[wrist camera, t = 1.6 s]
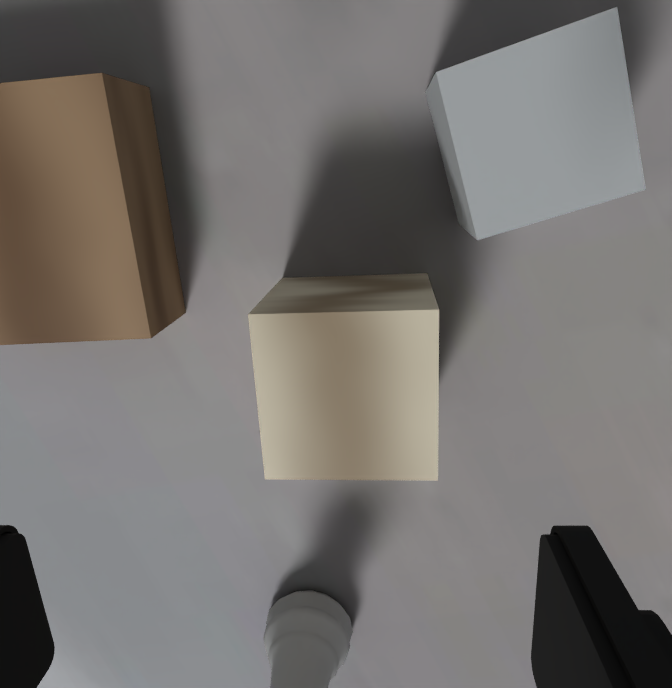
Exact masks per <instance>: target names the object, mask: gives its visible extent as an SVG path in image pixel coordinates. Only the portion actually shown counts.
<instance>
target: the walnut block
mask: <svg viewBox="0 0 672 688" xmlns="http://www.w3.org/2000/svg"><path fill="white" fill-rule="evenodd" d="M185 313H186V311H185V305H184V299H183V293H182V287H181V280H180V274H179V268H178V262H177V256H176V250H175V243H174V237H173V231H172V225H171V219H170V213H169V206H168V200H167V194H166V188H165V182H164V176H163V170H162V163H161V157H160V151H159V145H158V139H157V133H156V126H155V120H154V114H153V108H152V102H151V96H150V89H149V87H146V86H143V85H140V84H137V83H133V82H130V81H127V80H124V79H120V78H117V77H114V76H111V75H107V74H104V73H95V74H85V75H75V76H65V77H55V78H46V79H36V80H26V81H16V82H6V83H0V345H10V344H33V343H55V342H78V341H101V340H123V339H146V338H152V337H153V336H155V335H156V334H157V333H159V332H160V331H162V330H163V329H164V328H166V327H167V326H168V325H170V324H171V323H172V322H174V321H175V320H177V319H178V318H179V317H181V316H182V315H183V314H185Z"/></svg>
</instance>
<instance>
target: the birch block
mask: <svg viewBox="0 0 672 688" xmlns="http://www.w3.org/2000/svg"><path fill="white" fill-rule="evenodd" d="M248 319H249V328H250V338H251V348H252V358H253V367H254V377H255V387H256V396H257V406H258V416H259V426H260V435H261V445H262V455H263V465H264V474H265V479H284V480H434V481H438V405H439V308H438V305H437V302H436V299H435V296H434V292H433V289H432V286H431V283H430V280H429V277H428V274H427V273H418V274H387V275H356V276H325V277H294V278H282V279H281V280H280V281H279V282H278V283H277V284H276V285H275V286H274V287H273V288H272V290H271V291H270V292H269V293H268V294H267V295H266V296H265V297H264V298H263V299H262V300H261V301H260V302H259V303H258V304H257V305H256V307H255V308H254V309H253V310H252V311H251V312H250V313H249V314H248Z"/></svg>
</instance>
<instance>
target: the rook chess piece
mask: <svg viewBox="0 0 672 688" xmlns="http://www.w3.org/2000/svg"><path fill="white" fill-rule="evenodd" d="M266 624H267V626H266V630H265V634H264V645H265V649H266V653H267V656H268V660H269V664H270V667H271V684H270V688H328V685H329V682H330V680H331V679H332V678H333V677H334V676H335V675H336V673H337V670H338V669H339V668H340V667H341V666H342V665H343V664H344V662H345V660H346V657H347V654H348V651H349V648H350V643H349V642H350V639H351V635H352V632H353V631H352V626H351V620H350V617H349V616H348V615H347V613H346V612H345V610H344V609H343V608H342V606H341V605H340V604H339V603H338V602H337V601H335V600H334V599H332V598H331V597H329V596H328V595H326V594H324V593H320V592H316V591H313V590H306V591H296V592H294V593H291V594H289V595H287V596H285V597H283V598H280V599H279V600H278V601H277V602H276V603H275V604H274V605H273V606H272V607H271V608H270V610H269V613H268V617H267V621H266Z"/></svg>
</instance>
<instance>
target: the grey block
mask: <svg viewBox="0 0 672 688" xmlns="http://www.w3.org/2000/svg"><path fill="white" fill-rule="evenodd" d="M425 93H426V97H427V101H428V105H429V109H430V113H431V117H432V121H433V125H434V129H435V133H436V137H437V141H438V145H439V148H440V152H441V156H442V160H443V164H444V168H445V172H446V176H447V180H448V184H449V188H450V192H451V196H452V200H453V204H454V208H455V212H456V215H457V219H458V223H459V224H460V225H461V226H462V227H463V228H464V229H465V230H466V231H467V232H469V233H470V234H471V235H472V236H473V237H474V238H475V239H476V240H480V239H483V238H487V237H490V236H493V235H497V234H500V233H503V232H507V231H510V230H513V229H517V228H520V227H523V226H527V225H530V224H533V223H536V222H540V221H543V220H546V219H550V218H553V217H556V216H560V215H563V214H566V213H570V212H573V211H576V210H580V209H583V208H586V207H590V206H593V205H596V204H600V203H603V202H606V201H610V200H613V199H616V198H620V197H623V196H626V195H630V194H633V193H636V192H640V191H643V190H646V188H645V181H644V175H643V168H642V162H641V156H640V149H639V143H638V136H637V130H636V124H635V117H634V111H633V104H632V98H631V92H630V85H629V79H628V72H627V66H626V60H625V53H624V47H623V40H622V34H621V28H620V21H619V15H618V8H617V7H615V8H612V9H610V10H607V11H604V12H601V13H598V14H596V15H593V16H590V17H587V18H585V19H582V20H579V21H576V22H573V23H571V24H568V25H565V26H562V27H560V28H557V29H554V30H551V31H549V32H546V33H543V34H540V35H537V36H535V37H532V38H529V39H526V40H524V41H521V42H518V43H515V44H513V45H510V46H507V47H504V48H501V49H499V50H496V51H493V52H490V53H488V54H485V55H482V56H479V57H476V58H474V59H471V60H468V61H465V62H463V63H460V64H457V65H454V66H452V67H449V68H446V69H443V70H440V71H438V72H436V73H435V75H434V77H433V79H432V81H431V83H430V85H429V86H428V88H427V90H426V92H425Z"/></svg>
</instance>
